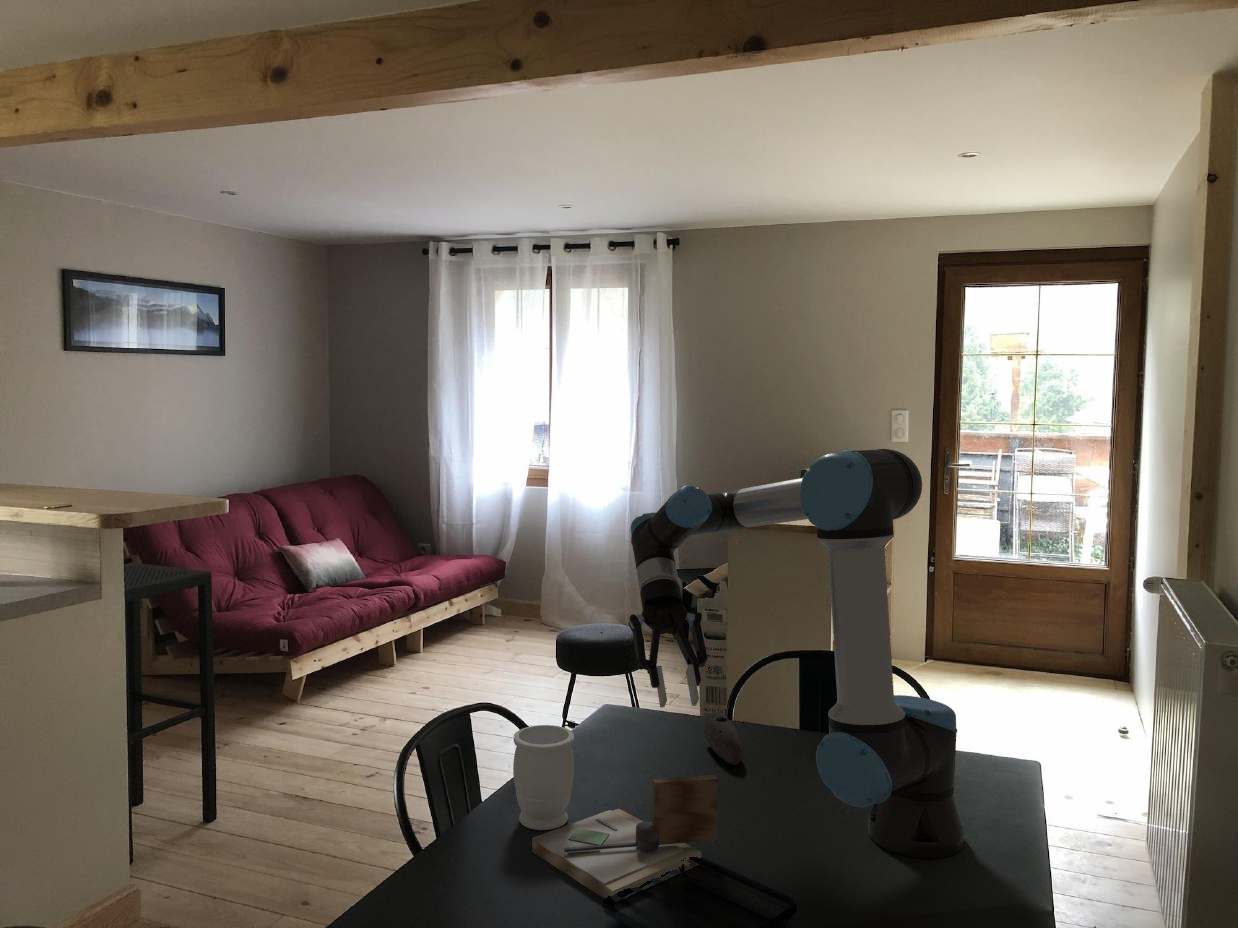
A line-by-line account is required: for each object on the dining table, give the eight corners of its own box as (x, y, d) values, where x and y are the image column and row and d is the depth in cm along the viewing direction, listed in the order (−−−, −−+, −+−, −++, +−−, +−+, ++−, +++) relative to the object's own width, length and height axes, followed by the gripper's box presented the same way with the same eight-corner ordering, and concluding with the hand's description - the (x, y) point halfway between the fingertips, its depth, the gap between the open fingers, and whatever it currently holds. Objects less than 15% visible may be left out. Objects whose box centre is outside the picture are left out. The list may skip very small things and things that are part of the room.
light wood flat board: (701, 864, 149) (701, 848, 149) (612, 904, 137) (613, 887, 137) (618, 819, 164) (618, 805, 164) (532, 851, 152) (532, 836, 152)
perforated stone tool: (749, 770, 186) (750, 735, 185) (723, 772, 185) (724, 737, 184) (726, 742, 200) (727, 710, 200) (702, 743, 199) (702, 711, 199)
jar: (577, 832, 159) (577, 744, 158) (515, 836, 157) (515, 747, 156) (570, 804, 170) (570, 722, 168) (511, 808, 168) (511, 725, 167)
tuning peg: (712, 834, 153) (713, 772, 152) (718, 845, 149) (719, 781, 149) (563, 846, 149) (563, 781, 148) (566, 857, 145) (566, 791, 144)
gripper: (702, 597, 183) (725, 710, 168) (609, 600, 179) (625, 715, 165) (710, 575, 177) (735, 690, 162) (614, 577, 174) (631, 695, 159)
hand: (679, 702), depth 163 cm, fingers open, 5 cm apart
